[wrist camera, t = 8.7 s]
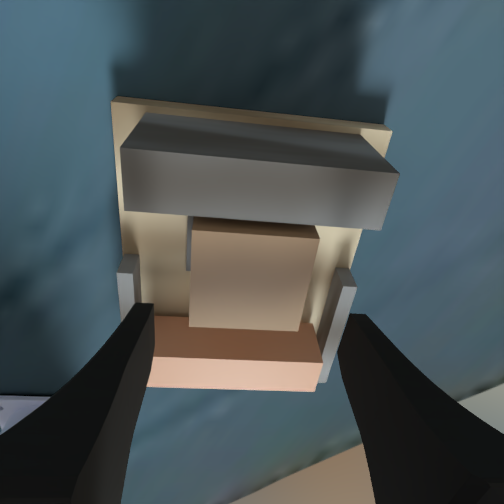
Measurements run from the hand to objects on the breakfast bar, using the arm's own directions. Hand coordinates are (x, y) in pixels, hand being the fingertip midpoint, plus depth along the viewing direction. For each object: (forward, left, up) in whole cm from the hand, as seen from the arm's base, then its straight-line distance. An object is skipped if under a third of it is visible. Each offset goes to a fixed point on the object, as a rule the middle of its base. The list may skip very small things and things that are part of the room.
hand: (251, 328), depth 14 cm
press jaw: (-8, 0, -7) cm, 11 cm away
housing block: (0, 0, -8) cm, 8 cm away
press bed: (-2, 0, -9) cm, 9 cm away
